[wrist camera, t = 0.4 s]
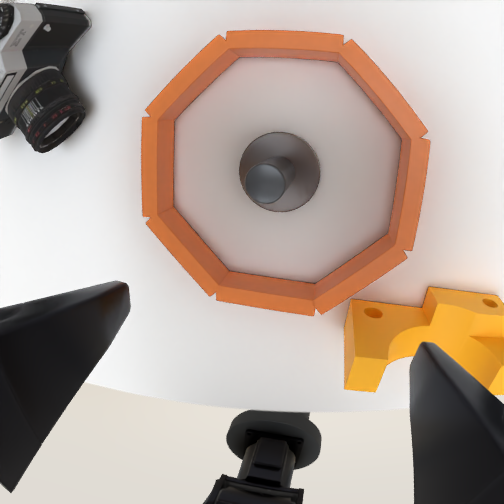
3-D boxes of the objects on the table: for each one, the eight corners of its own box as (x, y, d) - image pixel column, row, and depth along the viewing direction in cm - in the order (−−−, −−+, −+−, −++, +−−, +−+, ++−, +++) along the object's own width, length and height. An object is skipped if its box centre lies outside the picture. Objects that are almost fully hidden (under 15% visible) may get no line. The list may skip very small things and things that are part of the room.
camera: (42, 181, 26) (-28, 226, 18) (-6, 109, 22) (-78, 135, 14) (136, 72, 21) (53, 79, 12) (73, -5, 17) (-11, -16, 8)
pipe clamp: (497, 295, 19) (533, 343, 13) (478, 341, 21) (504, 394, 15) (355, 276, 21) (362, 330, 15) (343, 328, 23) (344, 389, 17)
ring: (386, 308, 21) (391, 326, 19) (162, 273, 25) (147, 287, 23) (423, 60, 15) (435, 52, 13) (164, 46, 18) (146, 39, 16)
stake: (316, 213, 20) (311, 240, 16) (240, 204, 21) (213, 227, 16) (323, 136, 18) (322, 136, 14) (244, 129, 19) (216, 129, 15)
